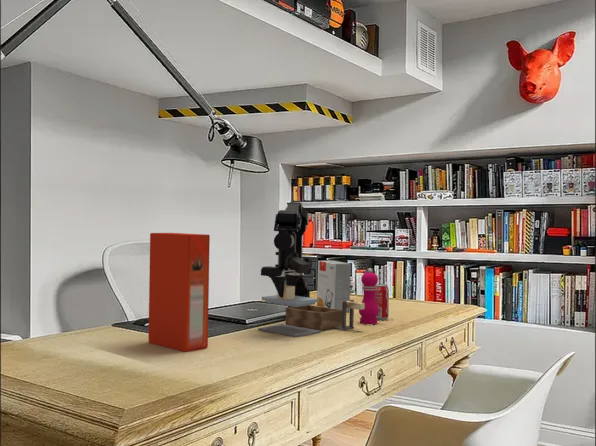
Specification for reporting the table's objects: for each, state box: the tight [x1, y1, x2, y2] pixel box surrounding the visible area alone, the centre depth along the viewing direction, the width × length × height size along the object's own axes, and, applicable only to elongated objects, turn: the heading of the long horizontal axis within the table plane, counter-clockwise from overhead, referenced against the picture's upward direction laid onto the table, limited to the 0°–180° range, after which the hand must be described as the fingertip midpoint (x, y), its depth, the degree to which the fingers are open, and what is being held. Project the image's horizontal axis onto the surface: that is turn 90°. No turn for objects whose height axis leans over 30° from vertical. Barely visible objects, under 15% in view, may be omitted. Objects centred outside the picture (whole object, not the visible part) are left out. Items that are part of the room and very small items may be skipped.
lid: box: [261, 284, 319, 307], centre depth 204 cm, size 15×11×6 cm
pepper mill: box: [358, 267, 379, 325], centre depth 224 cm, size 7×7×20 cm
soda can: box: [375, 283, 390, 321], centre depth 234 cm, size 7×7×13 cm
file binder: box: [148, 232, 211, 353], centre depth 177 cm, size 8×17×32 cm, turn 48°
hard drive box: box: [316, 260, 352, 313], centre depth 255 cm, size 16×8×20 cm, turn 25°
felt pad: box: [257, 323, 322, 338], centre depth 204 cm, size 17×12×1 cm
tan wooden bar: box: [341, 301, 365, 311], centre depth 209 cm, size 8×2×2 cm, turn 49°
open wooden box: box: [284, 299, 355, 332], centre depth 214 cm, size 20×13×10 cm, turn 49°
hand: (285, 296), depth 202 cm, fingers closed on lid, 4 cm apart
